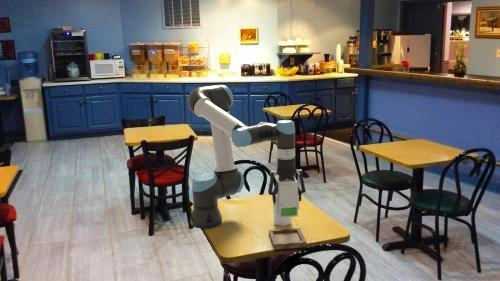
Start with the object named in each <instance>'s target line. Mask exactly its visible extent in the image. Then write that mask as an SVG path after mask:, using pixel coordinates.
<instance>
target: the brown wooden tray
mask: <svg viewBox="0 0 500 281" xmlns="http://www.w3.org/2000/svg"><path fill="white" fill-rule="evenodd" d="M268 236H269V239H270V242H271V245H272V248H273V250H282V249H296V248H297V249H298V248H307V247H308V242H307V240H306V238H305V236H304V234H303V232H302V230H301V227H291V228H290V227H289V228H277V229H276V228H275V229H268Z"/></svg>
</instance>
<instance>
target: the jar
mask: <svg viewBox="0 0 500 281" xmlns="http://www.w3.org/2000/svg"><path fill="white" fill-rule="evenodd" d="M272 204H273V205H272V206H273V207H272V208H273V210H272V211H273V223H274V226H275V225H276V226H281V227H284V226H287V225H291V224H292V217H283V218H280V217H279V216H278V214H277V211H276V209H275V203H273V202H272Z"/></svg>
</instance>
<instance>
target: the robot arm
mask: <svg viewBox="0 0 500 281" xmlns="http://www.w3.org/2000/svg"><path fill="white" fill-rule="evenodd" d="M233 104H234V95H233V93H232V91H231V89H230V88H229V87H228V86H226V85H224V84H216V85H215V84H214V85H208V86H200V87H199V86H198V87H196V88H194V89H193V90H191V91H190V93H189V94H188V96H187V106H188V109H189V110H190V111H191V112H192V113H193V114H194V115H195V116H197V117H199V118H204V119H205V120H206V121H208V122H209V123H210V127H211V134H212V142H213V149H214V151H213V152H214V158H215V165H216V166H215V167H214V169H213V172H204V173H199V174H198V175H196V176H195V177H193V178H192V181H191V190H192V205H193V206H192V211H191V212H192V213H191V216H190V226H192V227H194V228H195V229H202V230H203V229H213V228H216V227H219V226H220V225H221V224H223V216H222V214H221V211H220V209H219V204H218V203H219V202H218V200H221V199H222V198H225V197H229V196H234V195H235V194H238V193H240V192H242V189H243V187H244V185H245V178H244V174H243V173H242V171H241V170H239V169H238V166H237V165H236V164H235V162H234V156H233V154H234V153H233V149H232V144H233V145H234V146H235V147H237V148H245V147H248V146H252V145H256V144H261V143H262V144H263V143H265V142H273V143H276V157H277V158H276V160H277V162H276V164H277V168H276V170H270V171H269V173H270V179H269V184H268V190H267V193H268V195H269V196H272V204H273V203H275V209H276V211H278V196H277V191H278V182H276V183H275V186H274V182H275V177H276V174H277V175H278V176H279V177H278V178H277V179H278V180H279V181H283V180H286V179H292V181H294V180H295V179H296V178H295V175H296V174H297V175H298V178H299V184H300V186H298V210H300V202H301V201H302V195H303V194H304V193H306V186H305V182H304V177H303V175H304V170H302V169H301V168H300V169H297V168H296V127H295V126H296V125H295V122H294V121H293V120H289V119H282V120H278V121H276V123H272V122H268V121H261V122H259V123H257V124H256V125H250V126H248V125H246V124H245V123H243V122H242V121H240V120H239V119H237V118H236V117H234V116H232V115H231V114H230V113H231V109H230V108H231V107H233ZM294 178H295V179H294ZM300 188H301V189H300Z"/></svg>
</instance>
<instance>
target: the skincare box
mask: <svg viewBox="0 0 500 281" xmlns="http://www.w3.org/2000/svg"><path fill="white" fill-rule="evenodd" d="M294 179H295V180H294V181H292V179H286V180H283V181H279V180H278V178H275V180H276V183H277V182H278V191H277V196H278V211H277V214H278V216H279V217H280V218H283V217H291V218H296V217H298V216H299V209H298V187H299V182H298V180H297V179H296V178H295V177H294Z"/></svg>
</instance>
